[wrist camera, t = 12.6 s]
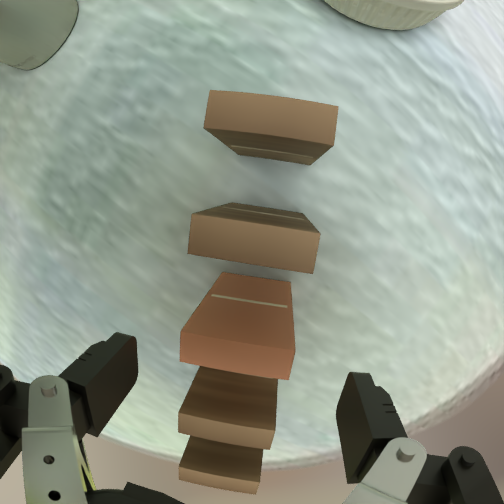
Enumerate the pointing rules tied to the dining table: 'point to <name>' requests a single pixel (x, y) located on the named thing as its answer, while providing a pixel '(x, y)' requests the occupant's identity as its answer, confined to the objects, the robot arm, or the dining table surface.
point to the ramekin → (393, 11)
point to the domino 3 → (242, 327)
